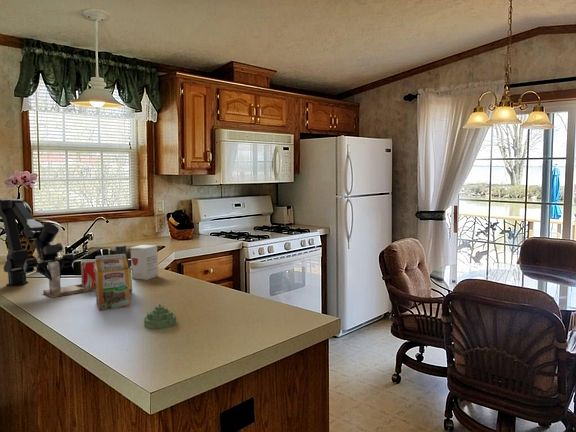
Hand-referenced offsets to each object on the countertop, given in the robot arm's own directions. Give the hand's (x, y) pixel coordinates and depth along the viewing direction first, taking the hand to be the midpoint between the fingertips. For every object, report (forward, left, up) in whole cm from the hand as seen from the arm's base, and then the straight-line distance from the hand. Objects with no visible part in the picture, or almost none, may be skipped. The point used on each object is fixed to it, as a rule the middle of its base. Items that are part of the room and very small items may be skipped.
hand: (55, 279), depth 194 cm
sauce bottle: (+27, +6, -7) cm, 28 cm away
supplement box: (+21, +36, -7) cm, 42 cm away
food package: (+32, -11, -7) cm, 34 cm away
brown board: (+3, +7, -6) cm, 10 cm away
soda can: (+7, +13, -7) cm, 16 cm away
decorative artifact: (+60, -31, -7) cm, 68 cm away
